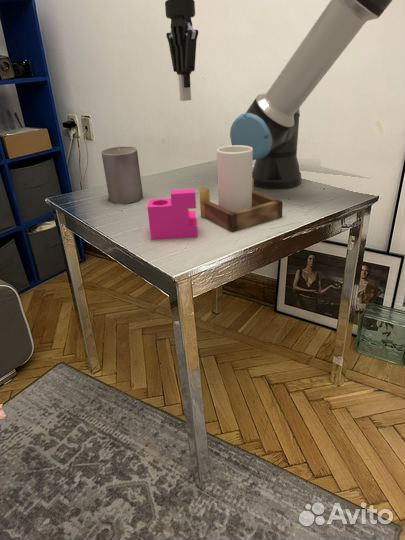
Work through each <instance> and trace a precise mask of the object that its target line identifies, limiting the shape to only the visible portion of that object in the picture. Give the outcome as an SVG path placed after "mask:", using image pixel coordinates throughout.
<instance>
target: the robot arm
mask: <svg viewBox="0 0 405 540" xmlns="http://www.w3.org/2000/svg"><path fill="white" fill-rule="evenodd" d="M392 2H393V0H330V1H329V2H328V4H327V5H326V7H325V9H323V11H322V12H321V14H320V15H319V16H318V18H317V20H316V21H315V23H314V24H313V25H312V27H311V28H310V30H309V31H308V33H307V34H306V36H305V37H304V39H303V40H302V41H301V43H300V44H299V46H298V47H297V49H296V50H295V51H294V53H293V54H292V55H291V57H290V59H289V61H287V63H286V64H285V66H284V67H283V69H282V70H281V71H280V73H279V75H277V78H275V81H273V83H272V85H270V88H269V89H268V90H267V92H266V93H260V94H258V95H257V96H256V97H255V98H254V100H253V102H252V103H251V104H250V106H249V108H248V109H247V110H246V112H245V113H241V114H239V115H238V116H237V117H236V118H235V119H234V121H233V122H232V124H231V126H230V130H229V138H230V143H231V146H232V145H243V146H249V147H252V149H253V160H252V161H255V162H254V164H253V167H252V178H254V186H255V187H258V188H261V189H262V188H263V189H271V190H272V189H273V190H274V189H275V190H280V189H282V190H283V189H288V188H294V187H297V186H299V185H300V184H301V183H302V172H301V171H300V165H299V161H298V155H297V153H298V141H299V140H298V139H299V127H300V126H299V124H300V116H301V112H300V108H301V106H302V105H303V103H305V101H306V100H307V99H308V97H309V96H310V94H312V92H313V91H314V90H315V88H316V87H317V86H318V84H319V83H320V82H321V81H322V80H323V79H324V77H325V76H326V74H327V73H328V72H329V70H330V69H331V68H332V66H333V65H334V64H335V63H336V61H337V60H339V58H340V56H341V55H342V54H343V53H344V51H345V49H347V47H348V46H349V44H350V43H351V42H352V41H353V39H355V37H356V36H357V34H358V33H359V31H360V30H361V29H362V28H363V26H364V25H365V24H366V23H367V22H369V21H372V20H376V19H379V18H380V17H381V15H382V14H383V13H384V12H385V10H386V9H387V8H388V7H389V5H390V4H391V3H392ZM195 4H196V2H195V0H166V1H165V2H164V8H165V9H164V10H165V17H166V18H167V19H170V20H171V21H170V31H169V32H166V35H165V37H166V39H167V42H168V46H169V47H168V48H169V51H170V53H169V54H170V58H171V59H170V60H171V64H172V70H173V72H174V73H176V74H177V75H178V88H179V101H181V102H185V101H192V93H191V92H192V88H191V74H192V72H195V69H196V67H195V66H196V57H197V56H196V55H197V41H198V37H199V36H198V35H199V30H198V29H194V27H193V21H192V18H194V17H195V16H196V6H195Z"/></svg>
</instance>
